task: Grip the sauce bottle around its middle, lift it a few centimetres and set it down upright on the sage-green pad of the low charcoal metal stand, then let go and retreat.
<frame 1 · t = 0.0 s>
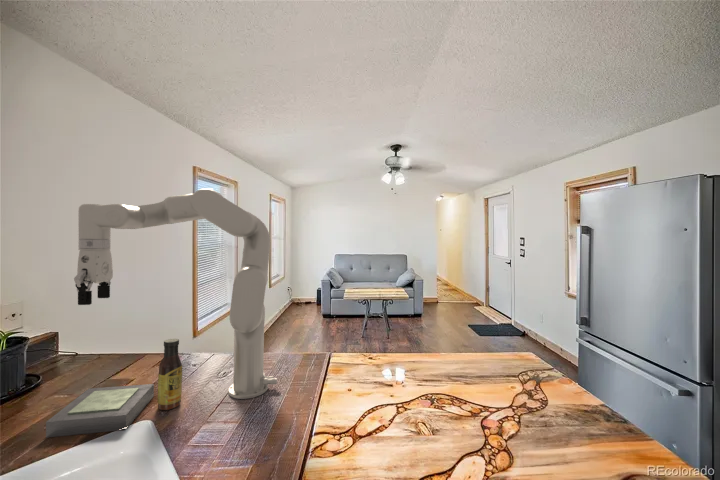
hand: (94, 301, 99), 31 cm above the worktop, tool pointing down, fingers open, 9 cm apart
sauce bottle: (169, 406, 98), on the worktop
stand: (106, 414, 93), on the worktop
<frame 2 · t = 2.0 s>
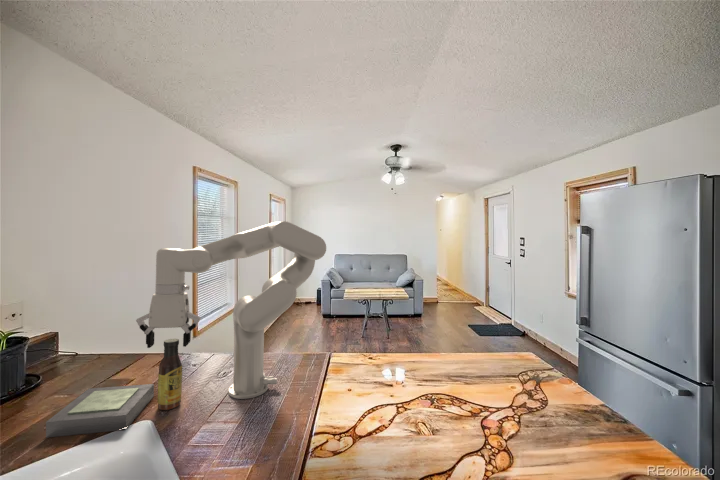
hand: (168, 345, 98), 18 cm above the worktop, tool pointing down, fingers open, 9 cm apart
nothing on the worktop moved.
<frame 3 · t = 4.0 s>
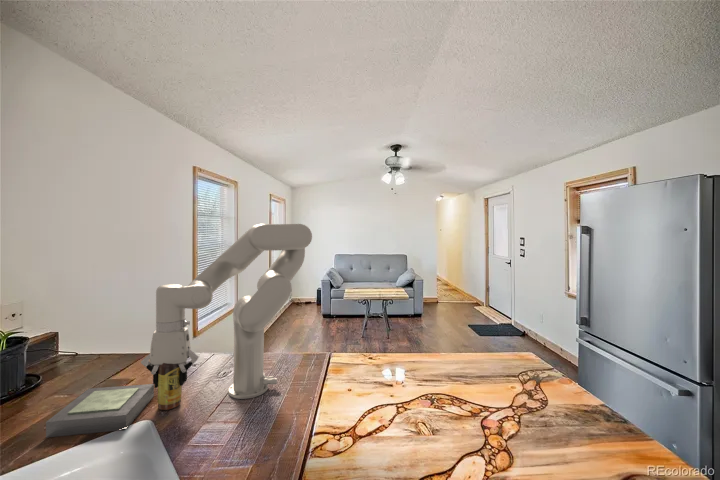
hand: (170, 384, 98), 7 cm above the worktop, tool pointing down, fingers closed on sauce bottle, 6 cm apart
sauce bottle: (170, 406, 98), on the worktop, touching gripper
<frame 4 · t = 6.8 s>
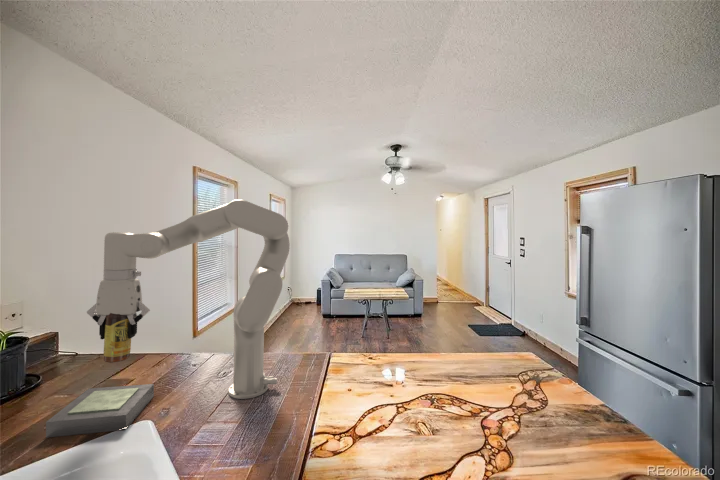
hand: (118, 336, 94), 22 cm above the worktop, tool pointing down, fingers closed on sauce bottle, 6 cm apart
sauce bottle: (117, 360, 94), point 15 cm above the worktop, touching gripper
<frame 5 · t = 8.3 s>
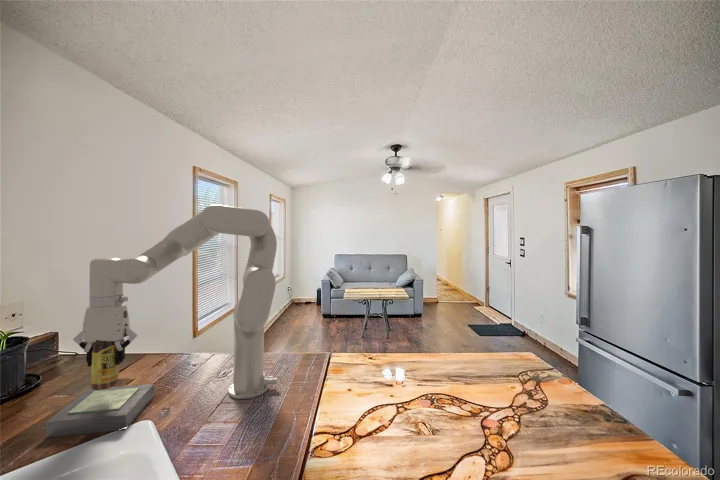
hand: (105, 363, 93), 15 cm above the worktop, tool pointing down, fingers closed on sauce bottle, 6 cm apart
sauce bottle: (105, 386, 93), point 8 cm above the worktop, touching gripper
when the fingers open (12 cm above the worktop, at t = 9.6 s): sauce bottle drops 1 cm, resting on stand.
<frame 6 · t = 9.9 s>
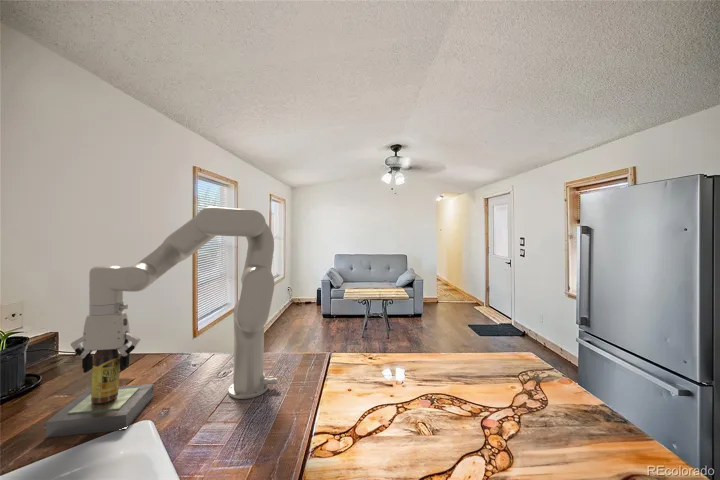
hand: (106, 369, 93), 13 cm above the worktop, tool pointing down, fingers open, 8 cm apart
sauce bottle: (105, 399, 93), point 4 cm above the worktop, touching stand
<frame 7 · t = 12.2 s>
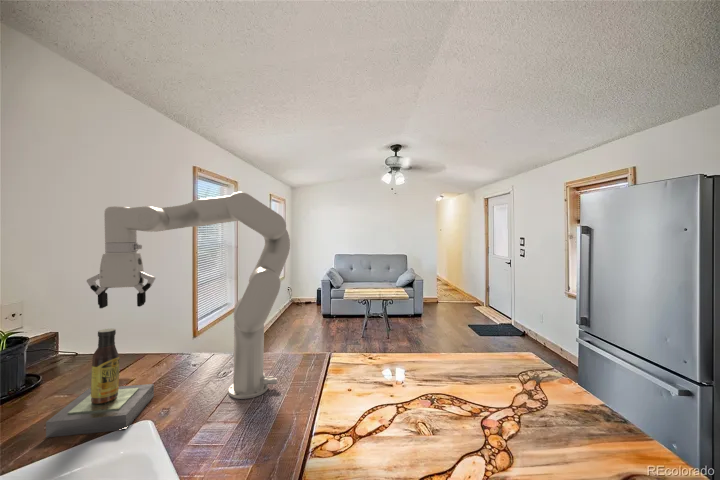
hand: (122, 306, 96), 30 cm above the worktop, tool pointing down, fingers open, 9 cm apart
nothing on the worktop moved.
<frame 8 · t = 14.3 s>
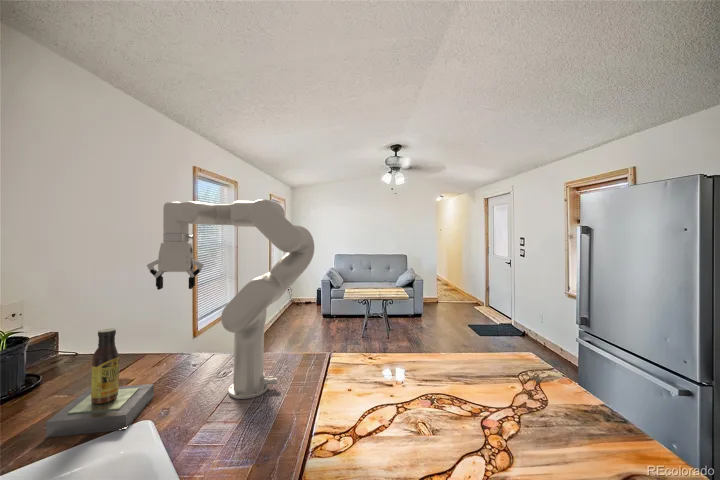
hand: (175, 288, 111), 33 cm above the worktop, tool pointing down, fingers open, 9 cm apart
nothing on the worktop moved.
at the end: sauce bottle inside the target area on the stand (0.2 cm from its centre), point 4.2 cm above the stand's base; sauce bottle tilted 0°; the gripper is holding nothing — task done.
